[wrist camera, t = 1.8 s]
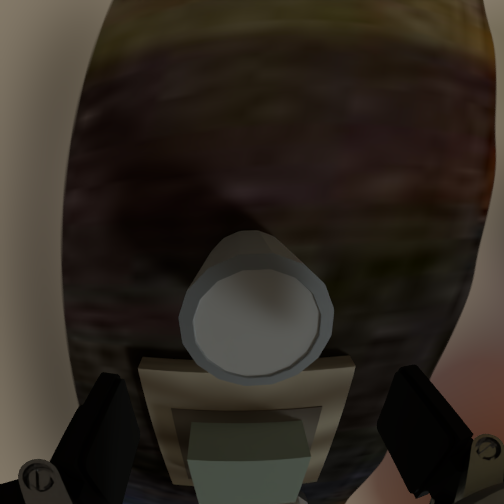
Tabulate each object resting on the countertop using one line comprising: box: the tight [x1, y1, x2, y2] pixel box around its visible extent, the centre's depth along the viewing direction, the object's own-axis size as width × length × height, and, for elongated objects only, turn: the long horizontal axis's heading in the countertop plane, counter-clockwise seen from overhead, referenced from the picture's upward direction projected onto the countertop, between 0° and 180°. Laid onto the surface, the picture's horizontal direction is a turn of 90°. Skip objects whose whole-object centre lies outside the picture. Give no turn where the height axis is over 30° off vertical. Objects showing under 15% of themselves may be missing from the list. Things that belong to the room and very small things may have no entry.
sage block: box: [187, 420, 311, 504], centre depth 21 cm, size 9×9×4 cm
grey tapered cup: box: [179, 230, 334, 386], centre depth 16 cm, size 7×7×7 cm
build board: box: [138, 355, 356, 486], centre depth 23 cm, size 18×16×2 cm
